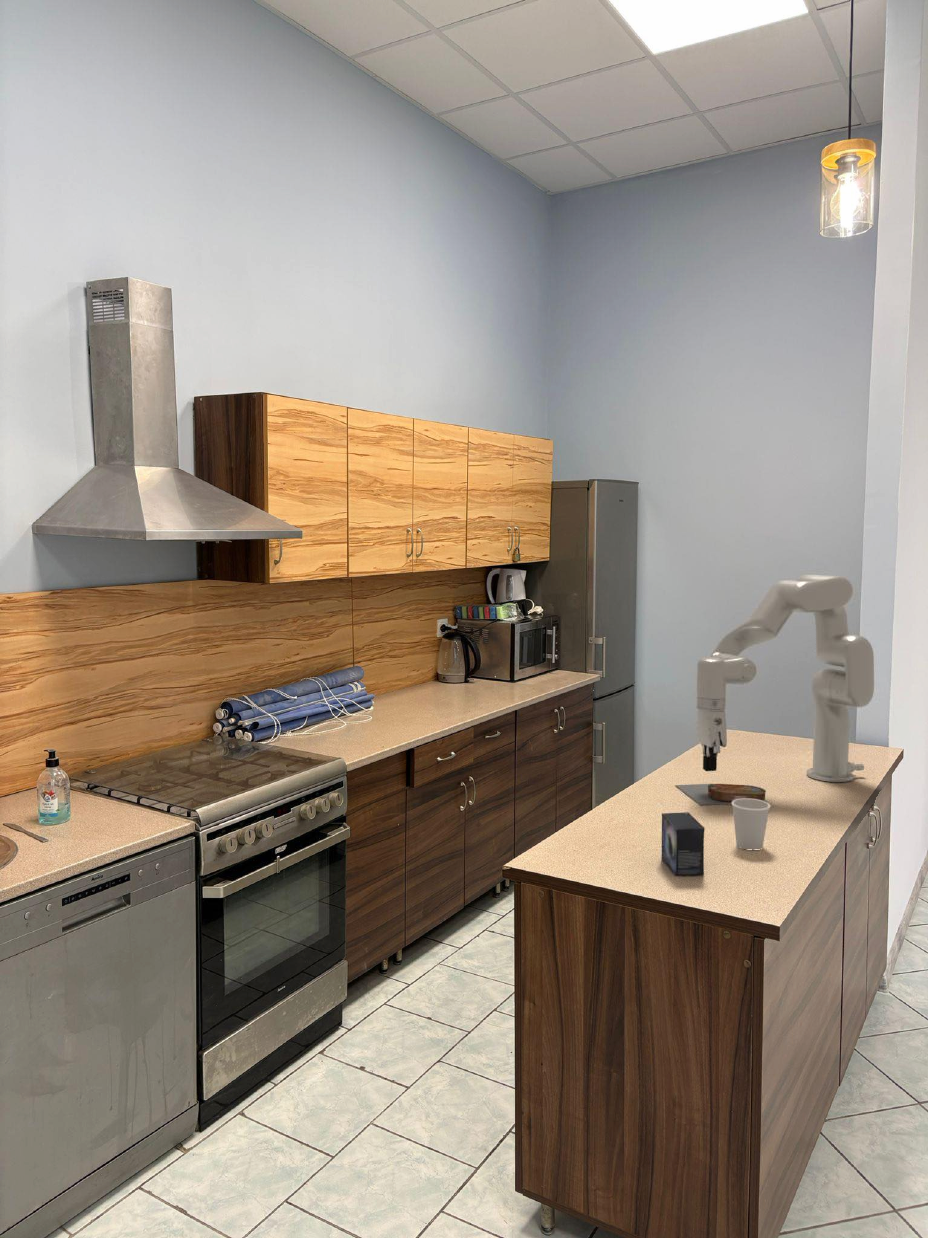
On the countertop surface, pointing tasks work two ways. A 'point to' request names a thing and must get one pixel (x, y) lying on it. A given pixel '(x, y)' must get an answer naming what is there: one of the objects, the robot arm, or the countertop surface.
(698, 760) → the countertop surface
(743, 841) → the dixie cup
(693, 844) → the small box
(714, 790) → the tin
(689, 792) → the mat
